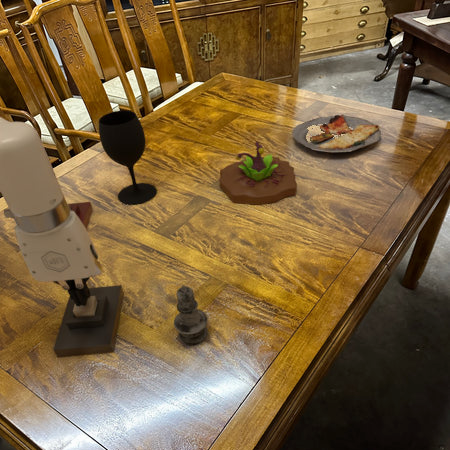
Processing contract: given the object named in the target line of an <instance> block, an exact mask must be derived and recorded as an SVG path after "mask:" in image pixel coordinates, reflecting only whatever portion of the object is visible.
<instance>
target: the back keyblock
mask: <svg viewBox="0 0 450 450" xmlns="http://www.w3.org/2000/svg"><path fill="white" fill-rule="evenodd" d="M68 204H69V206H70V208H71V211H74V212H75V213H76V215H77V216H78V217H79V219H80V220H81V222H82V223H83V225H84V227H85V228H86V230H87V229H88V226H89V223H90V219H91V217H92V214H91V213H93V210H94V208H93V205H92V203H91V201H81V202H74V203H68ZM92 209H93V210H92ZM90 216H91V217H90ZM87 231H88V230H87Z"/></svg>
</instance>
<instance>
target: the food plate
mask: <svg viewBox="0 0 450 450" xmlns="http://www.w3.org/2000/svg"><path fill="white" fill-rule="evenodd" d="M325 123H326V124H325ZM318 124H323V125H321V126H320V129H321V131H323V132H325V133H321V134H320V135H319V134H318V135H316V136H312V137H310V141H311V142H310V143H308V141H307V139H306V135H307V133H308V131H309V130H308V129H307V128H308V127H310V126H312V125H316V126H317V125H318ZM349 127H351V128H353V130H351V129H350V128H349ZM312 129H313V128H312ZM381 132H382V131H381V129H380V125H379V124H374V123H373V122H372V121H369V120H367V119H365V118H361V117H356V116H350V115H344V114H343V113H342V114H341V115H340V114H335V115H328V116H320V117H317V118H316V117H315V118H313V119H310V120H307V121H304V122H302V123H299V124H297V125H296V126H294V127H293V129H292V136H293V137H292V138H293V139H294V140H295V141H296V142H298V143H299V144H301V145H302V146H303V147H306V148H309V149H311V150H313V151H316V152H317V151H318V152H324V153H326V152H327V153H347V152H350V153H351V152H353V151H356V150H358V149H362V148H365V147H367V146H370V145H372V144H374V143H378V141H380V140H381V139H382V135H381ZM332 134H334V135H338V138H336V139H335V137H334V135H332ZM341 134H345V135H343V136H341ZM339 135H340V136H339ZM333 137H334V138H333ZM336 137H337V136H336Z"/></svg>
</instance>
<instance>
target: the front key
mask: <svg viewBox="0 0 450 450" xmlns="http://www.w3.org/2000/svg"><path fill="white" fill-rule="evenodd" d="M97 304H98V302H97V300H96V297H95V296H90V298H88V300H87V304H86V306H82V305H80V306H76V304H75V305H74V309H73V312H74V314H75V316H76V317H85V316H95V312H96V308H97Z"/></svg>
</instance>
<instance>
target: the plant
mask: <svg viewBox="0 0 450 450" xmlns="http://www.w3.org/2000/svg"><path fill="white" fill-rule="evenodd" d="M254 146H255V147H256V148H255V150H256V154H255V156H254V155H252V154H250V153H249V152H240V153H237V154H236V155H235V159H236V160H237V161H235V162H233V163H230V164H228V165H226V166H225V167H224V168H222V169H220V170H219V176H220V177H219V179H218V182H219V183H218V184H219V188H220V189H221V190H222V191H223V193H224V194H225V195H226V196H227V197H228V198H229V200H230V201H231V202H232V203H234V204H247V205H252V206H253V205H254V206H255V205H264V204H274V203H277V202H279V201H280V200H282V199H284V198H289V197H295V196H296V195H297V190H298V189H297V188H298V185H297V181H296V173H295V167H294V166H292V165H291V164H290V162H289V161H287V160H282V159H280V157H277V156H273V154H271V153H270V154H267V155H266V156H262V155H263V154H264V153H265V148H264V146H263V144H261V143H260V142H259V141H255V143H254ZM243 156H245V159H244V160H241V159H242V157H243Z"/></svg>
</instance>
